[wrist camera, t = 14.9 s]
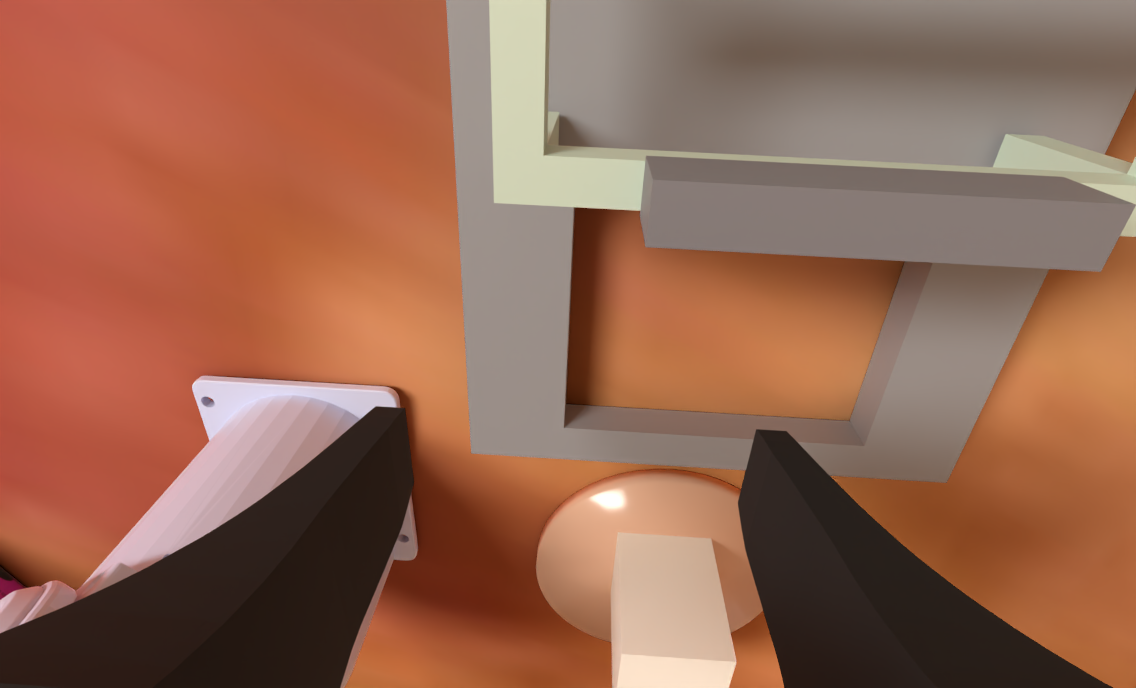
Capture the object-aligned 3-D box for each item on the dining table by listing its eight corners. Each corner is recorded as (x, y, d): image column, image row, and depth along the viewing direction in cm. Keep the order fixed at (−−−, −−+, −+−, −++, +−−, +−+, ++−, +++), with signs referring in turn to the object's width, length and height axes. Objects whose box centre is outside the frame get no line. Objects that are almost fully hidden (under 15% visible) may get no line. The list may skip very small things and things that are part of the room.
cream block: (697, 598, 27) (717, 724, 23) (610, 593, 28) (612, 716, 23) (711, 538, 25) (736, 662, 21) (617, 532, 26) (621, 654, 21)
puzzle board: (927, 456, 24) (946, 482, 22) (478, 428, 24) (471, 453, 23) (1314, -410, 12) (1398, -459, 11) (438, -436, 13) (419, -486, 11)
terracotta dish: (752, 640, 30) (756, 656, 29) (536, 626, 30) (534, 640, 30) (805, 477, 25) (811, 491, 24) (539, 461, 25) (537, 474, 24)
